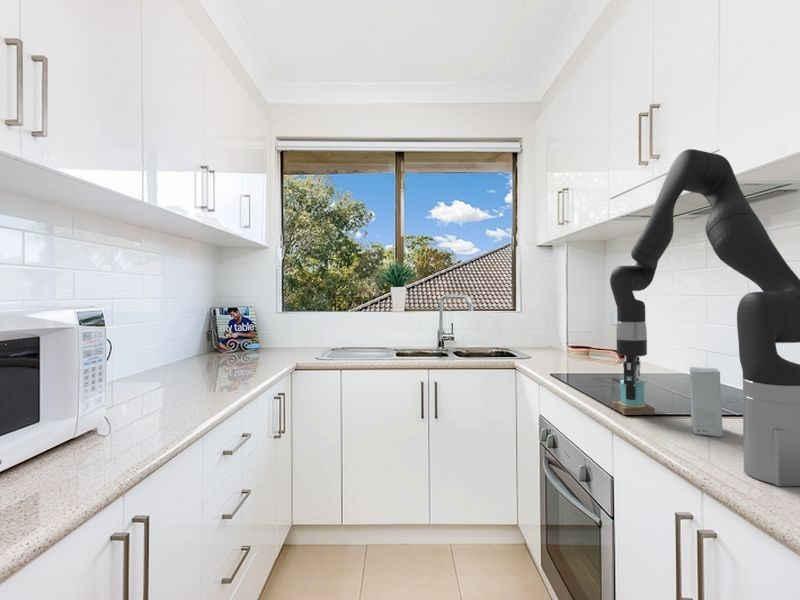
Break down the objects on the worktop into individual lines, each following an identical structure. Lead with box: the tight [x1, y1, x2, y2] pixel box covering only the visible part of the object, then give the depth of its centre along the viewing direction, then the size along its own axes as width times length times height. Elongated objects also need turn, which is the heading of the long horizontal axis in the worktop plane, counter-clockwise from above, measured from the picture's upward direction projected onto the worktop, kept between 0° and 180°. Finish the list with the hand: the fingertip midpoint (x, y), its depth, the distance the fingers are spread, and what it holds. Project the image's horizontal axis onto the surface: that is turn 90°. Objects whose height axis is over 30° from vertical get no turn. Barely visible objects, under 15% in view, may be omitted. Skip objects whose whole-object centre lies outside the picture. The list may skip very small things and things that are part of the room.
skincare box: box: [689, 366, 724, 438], centre depth 110 cm, size 8×6×15 cm
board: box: [611, 400, 656, 416], centre depth 128 cm, size 8×8×6 cm
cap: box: [619, 378, 646, 406], centre depth 128 cm, size 6×6×6 cm
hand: (632, 396), depth 128 cm, fingers open, 7 cm apart
